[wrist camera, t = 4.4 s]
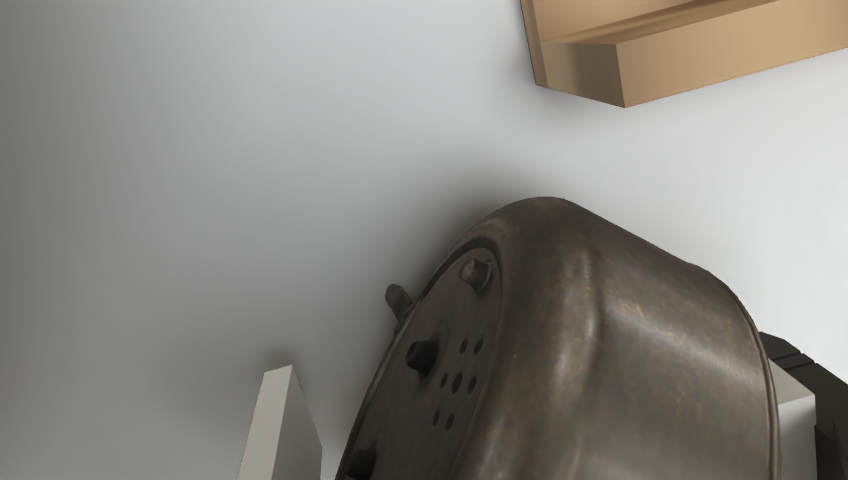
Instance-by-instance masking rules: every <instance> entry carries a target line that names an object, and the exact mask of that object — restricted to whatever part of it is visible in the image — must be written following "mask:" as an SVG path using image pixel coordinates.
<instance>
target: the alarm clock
mask: <svg viewBox="0 0 848 480" xmlns="http://www.w3.org/2000/svg"><path fill="white" fill-rule="evenodd" d="M385 298H386V301H387V303H388V305H389V306H390V307H391V308H392V310H393V312H394V314H395V316H396V318H397V320H398V324H397V326H396V328H395V331H394V337H393V339H392V341H391V343H390V345H389V347H388V348H387V350H386V352H385V354H384V356H383V358H382V361H381V363H380V365H379V367H378V369H377V371H376V373H375V375H374V377H373V380H372V382H371V384H370V386H369V388H368V390H367V393H366V395H365V398H364V400H363V403H362V405H361V407H360V410H359V412H358V415H357V417H356V420H355V422H354V425H353V428H352V430H351V433H350V436H349V439H348V442H347V445H346V447H345V450H344V453H343V456H342V459H341V462H340V465H339V468H338V471H337V474H336V477H335V480H781V469H782V452H781V430H780V420H779V412H778V404H777V397H776V391H775V385H774V381H773V377H772V372H771V368H770V364H769V360H768V357H767V354H766V351H765V348H764V346H763V343H762V341H761V339H760V335H759V332H758V330H757V328H756V326H755V324H754V322H753V320H752V318H751V316H750V315H749V313H748V312H747V310H746V309H745V307H744V306H743V304H742V303H741V301H740V300H739V299H738V297H737V296H736V295H735V294H734V293H733V292H732V291H731V289H730V288H729V287H728V286H727V285H726V284H725V283H723V282H722V281H721V280H719V279H718V278H717V277H715V276H714V275H713V274H711V273H710V272H709V271H707V270H705V269H703V268H701V267H699V266H697V265H694V264H691V263H687V262H685V261H683V260H681V259H679V258H677V257H675V256H673V255H672V254H670V253H668V252H666V251H664V250H662V249H660V248H659V247H657V246H655V245H653V244H651V243H649V242H647V241H646V240H644V239H642V238H640V237H638V236H636V235H634V234H632V233H630V232H628V231H627V230H625V229H623V228H621V227H619V226H617V225H615V224H613V223H611V222H609V221H607V220H606V219H604V218H602V217H600V216H598V215H596V214H594V213H592V212H590V211H589V210H587V209H585V208H583V207H581V206H579V205H577V204H575V203H573V202H571V201H568V200H565V199H561V198H556V197H535V198H528V199H524V200H520V201H517V202H514V203H511V204H509V205H507V206H505V207H502V208H500V209H498V210H496V211H494V212H493V213H491V214H490V215H488V216H487V217H485V218H484V219H482V220H481V221H480V222H478V223H477V224H476V225H475V226H474V227H473V228H471V229H470V230H469V231H468V232H467V233H466V234H465V235H464V236H463V237H462V238H461V239H460V240H459V241H458V242H457V243H456V244H455V245H454V247H453V248H452V249H451V250H450V251H449V253H448V254H447V255H446V256H445V257H444V259H443V260H442V261H441V262H440V264H439V265H438V266H437V268H436V269H435V270H434V272H433V273H432V275H431V276H430V277H429V279H428V280H427V282H426V283H425V285H424V286H423V288H422V289H421V291H420V292H419V294H418V295H417V297H416V299H415V301H414V302H413V301H412V300H411V299H410V298H409V297H408V295H407V293H406V292H405V291H404V290H403V289H402V288H401V287H400V286H397V285H390V286H389V287H388V289H387V291H386V295H385Z"/></svg>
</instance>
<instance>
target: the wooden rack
mask: <svg viewBox="0 0 848 480" xmlns="http://www.w3.org/2000/svg"><path fill="white" fill-rule="evenodd" d="M520 2H521V7H522V12H523V18H524V23H525V28H526V33H527V39H528V44H529V49H530V55H531V60H532V65H533V71H534V76H535V81H536V85H540V86H543V87H547V88H551V89H555V90H558V91H562V92H566V93H570V94H574V95H577V96H581V97H585V98H589V99H593V100H596V101H600V102H604V103H608V104H612V105H615V106H619V107H623V108H627V107H631V106H635V105H638V104H642V103H646V102H649V101H653V100H657V99H660V98H664V97H668V96H671V95H675V94H679V93H682V92H686V91H690V90H693V89H697V88H701V87H704V86H708V85H712V84H715V83H719V82H723V81H726V80H730V79H734V78H737V77H741V76H745V75H748V74H752V73H756V72H759V71H763V70H767V69H771V68H774V67H778V66H782V65H785V64H789V63H793V62H796V61H800V60H804V59H807V58H811V57H815V56H818V55H822V54H826V53H829V52H833V51H837V50H840V49H844V48H848V0H520Z"/></svg>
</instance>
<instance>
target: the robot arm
mask: <svg viewBox="0 0 848 480" xmlns="http://www.w3.org/2000/svg"><path fill="white" fill-rule="evenodd" d="M759 335H760V339H761V341H762V343H763V346H764V348H765V351H766V354H767V357H768V360H769V364H770V368H771V372H772V377H773V381H774V385H775V391H776V397H777V404H778V412H779V420H780V430H781V452H782V469H781V480H848V384H846V383H845V382H843V381H842V380H841V379H839V378H838V377H836V376H835V375H833V374H832V373H831V372H829V371H828V370H826V369H825V368H824V367H822V366H821V365H819V364H818V363H814V360H812V359H811V358H809V357H808V356H807V355H805V354H804V353H803V354H801V352H800V350H798V349H797V348H795V347H794V346H792V345H791V344H790V343H788V342H787V341H785V340H784V339H781V338H778V337H775V336H772V335H769V334H766V333H763V332H759ZM321 458H322V445H321V443H320V440H319V437H318V434H317V432H316V429H315V426H314V423H313V421H312V418H311V415H310V412H309V410H308V407H307V404H306V401H305V399H304V396H303V393H302V390H301V388H300V385H299V382H298V379H297V377H296V374H295V371H294V368H293V366H292V365H289V366H285V367H282V368H278V369H274V370H271V371H267V372H265V373H264V376H263V380H262V384H261V388H260V392H259V396H258V400H257V404H256V407H255V411H254V415H253V419H252V423H251V427H250V431H249V434H248V438H247V442H246V446H245V450H244V454H243V458H242V462H241V465H240V469H239V473H238V477H237V480H320V472H321Z"/></svg>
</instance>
